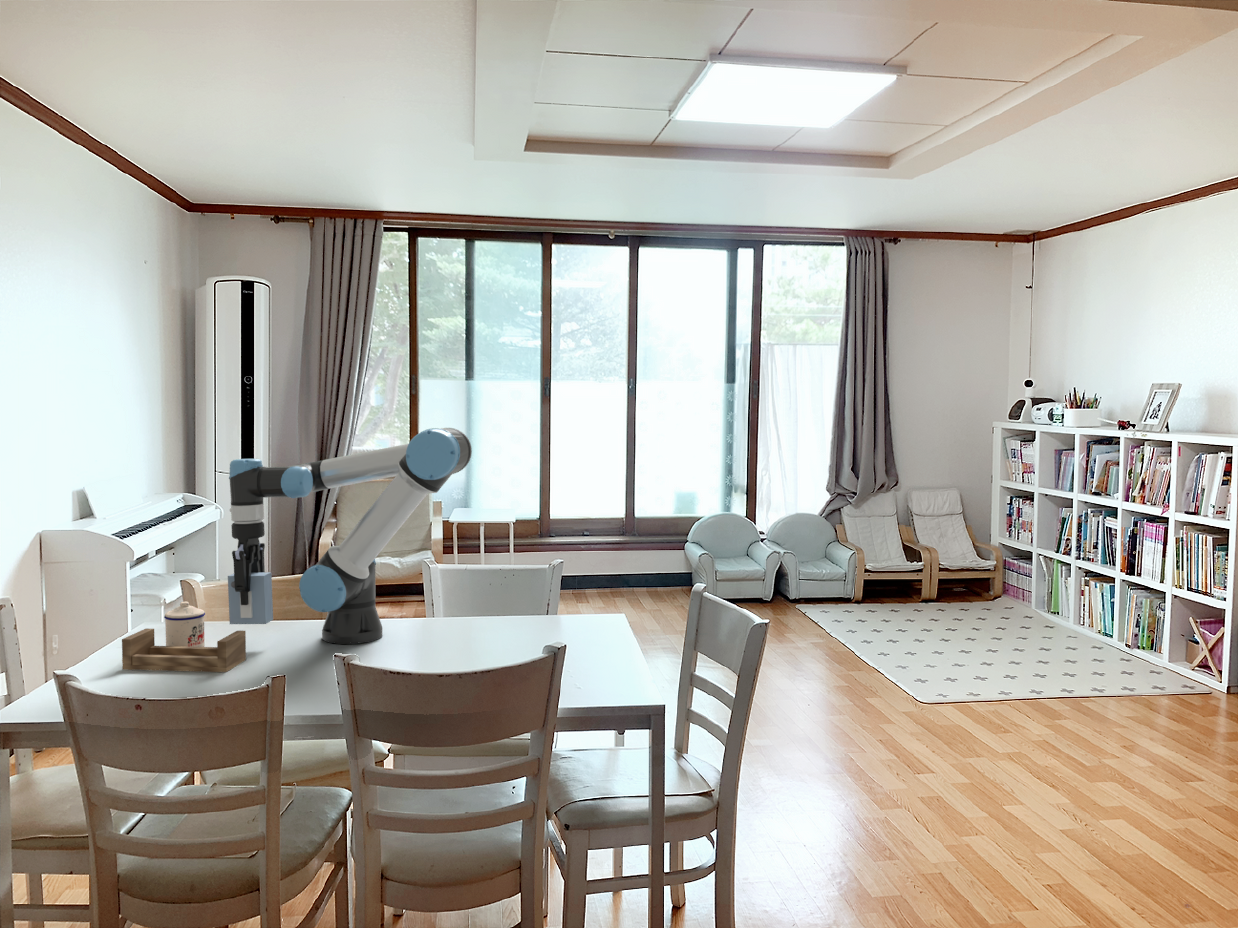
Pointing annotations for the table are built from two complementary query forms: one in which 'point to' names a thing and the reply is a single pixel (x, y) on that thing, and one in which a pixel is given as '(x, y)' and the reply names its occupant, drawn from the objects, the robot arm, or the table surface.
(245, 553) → the robot arm
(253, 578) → the blue box with knob
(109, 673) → the table surface
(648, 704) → the table surface
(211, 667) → the track
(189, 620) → the teacup with lid
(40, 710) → the table surface
